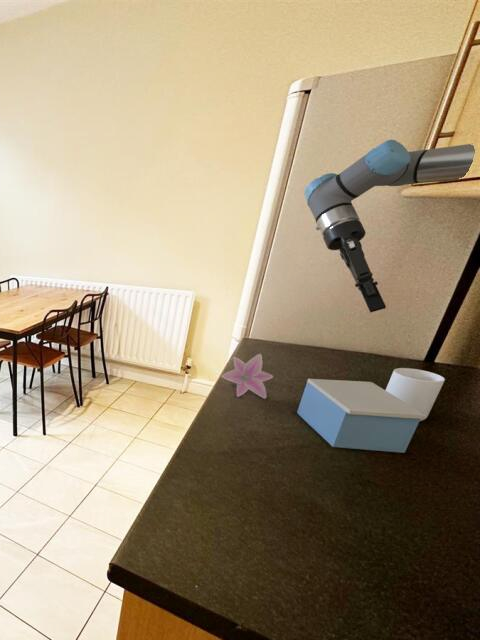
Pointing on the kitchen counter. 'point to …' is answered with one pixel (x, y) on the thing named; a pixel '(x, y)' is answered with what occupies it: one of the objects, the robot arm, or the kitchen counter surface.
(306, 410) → the case
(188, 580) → the kitchen counter surface
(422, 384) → the cup
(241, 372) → the lily
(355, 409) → the case lid
